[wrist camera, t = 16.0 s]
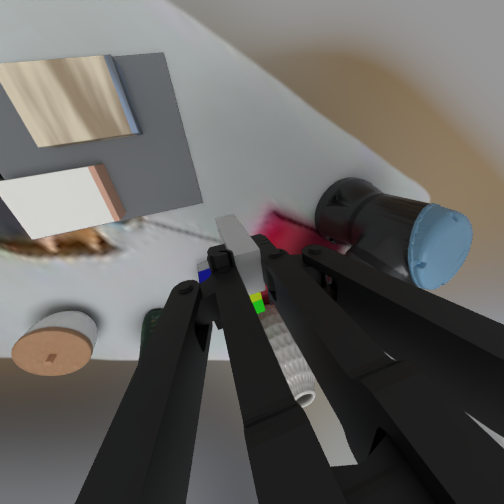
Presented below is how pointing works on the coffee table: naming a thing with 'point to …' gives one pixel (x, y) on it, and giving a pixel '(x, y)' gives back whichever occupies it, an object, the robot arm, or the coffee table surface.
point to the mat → (119, 145)
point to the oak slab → (71, 99)
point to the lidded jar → (56, 344)
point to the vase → (288, 356)
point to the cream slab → (63, 200)
